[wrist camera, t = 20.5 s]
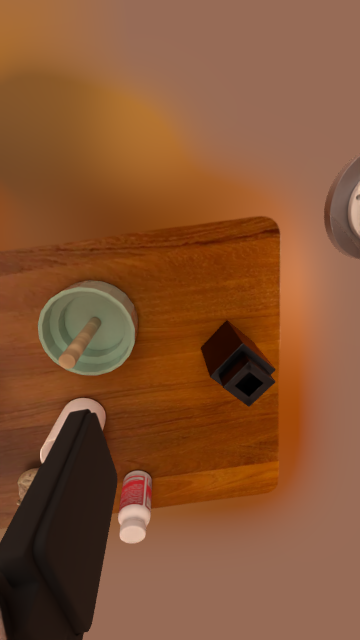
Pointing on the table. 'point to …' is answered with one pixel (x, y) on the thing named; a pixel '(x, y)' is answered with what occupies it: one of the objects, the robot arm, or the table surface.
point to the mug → (70, 407)
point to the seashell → (25, 482)
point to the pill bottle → (135, 506)
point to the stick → (79, 344)
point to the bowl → (75, 312)
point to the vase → (237, 364)
